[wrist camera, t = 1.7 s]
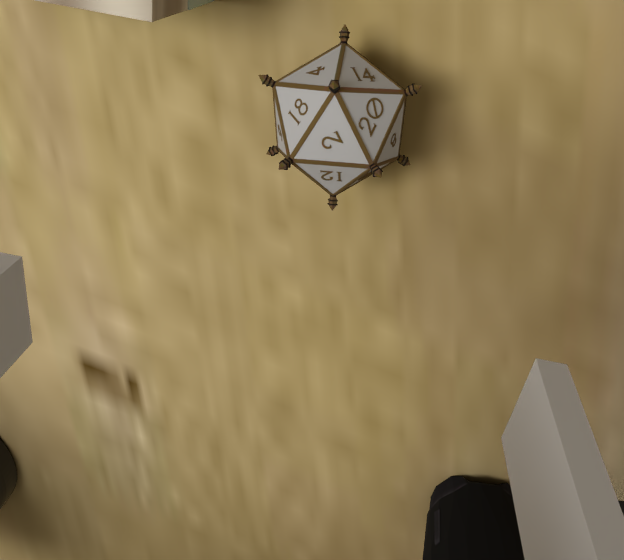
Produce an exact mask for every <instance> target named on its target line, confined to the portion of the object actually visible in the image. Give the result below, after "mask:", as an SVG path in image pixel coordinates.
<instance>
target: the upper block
mask: <svg viewBox="0 0 624 560" xmlns="http://www.w3.org/2000/svg"><path fill="white" fill-rule="evenodd" d="M36 1H42V2H47V3H52V4H58V5H63V6H69V7H74V8H79V9H85V10H90V11H95V12H101V13H106V14H112V15H117V16H122V17H128V18H133V19H138V20H144V21H149V22H153V21H156V20H159V19H162V18H165V17H168V16H171V15H174V14H176V13H179V12H182V11H185V10H188V0H36Z"/></svg>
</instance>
